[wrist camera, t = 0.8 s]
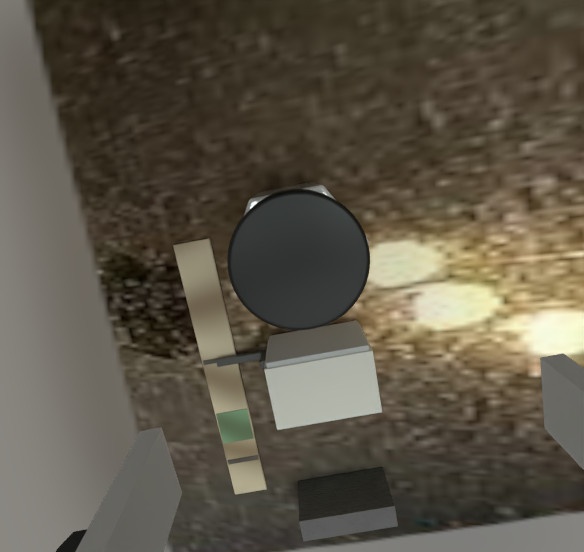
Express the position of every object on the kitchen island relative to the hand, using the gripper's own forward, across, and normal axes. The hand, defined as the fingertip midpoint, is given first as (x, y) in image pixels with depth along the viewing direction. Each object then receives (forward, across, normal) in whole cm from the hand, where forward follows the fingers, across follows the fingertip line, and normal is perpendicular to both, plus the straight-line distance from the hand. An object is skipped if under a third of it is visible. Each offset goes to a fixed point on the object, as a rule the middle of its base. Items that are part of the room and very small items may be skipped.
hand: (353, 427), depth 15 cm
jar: (+23, -1, +3) cm, 23 cm away
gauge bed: (+23, -10, -8) cm, 26 cm away
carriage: (+22, -3, -8) cm, 24 cm away
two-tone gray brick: (+22, -1, -21) cm, 31 cm away
